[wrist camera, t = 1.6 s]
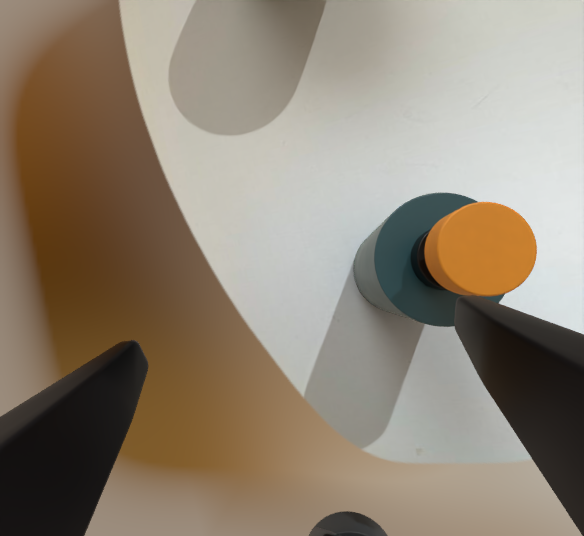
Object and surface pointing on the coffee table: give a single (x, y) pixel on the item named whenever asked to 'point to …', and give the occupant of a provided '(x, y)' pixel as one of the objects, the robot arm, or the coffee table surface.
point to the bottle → (409, 262)
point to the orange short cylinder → (481, 250)
